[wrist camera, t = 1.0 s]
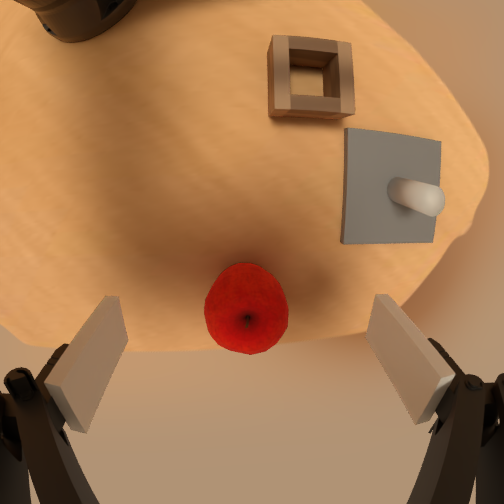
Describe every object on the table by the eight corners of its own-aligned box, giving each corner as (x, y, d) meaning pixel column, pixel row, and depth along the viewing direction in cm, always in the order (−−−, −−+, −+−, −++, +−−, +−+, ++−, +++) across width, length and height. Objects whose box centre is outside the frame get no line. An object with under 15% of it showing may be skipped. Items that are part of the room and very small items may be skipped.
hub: (267, 53, 28) (272, 34, 22) (333, 58, 28) (351, 43, 23) (268, 116, 31) (274, 108, 25) (336, 119, 31) (355, 114, 25)
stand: (344, 128, 31) (378, 122, 23) (436, 141, 32) (480, 144, 23) (340, 241, 36) (369, 269, 27) (428, 240, 37) (467, 263, 28)
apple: (292, 288, 38) (310, 336, 28) (238, 322, 39) (238, 377, 29) (252, 234, 35) (258, 269, 25) (195, 274, 37) (181, 320, 26)
